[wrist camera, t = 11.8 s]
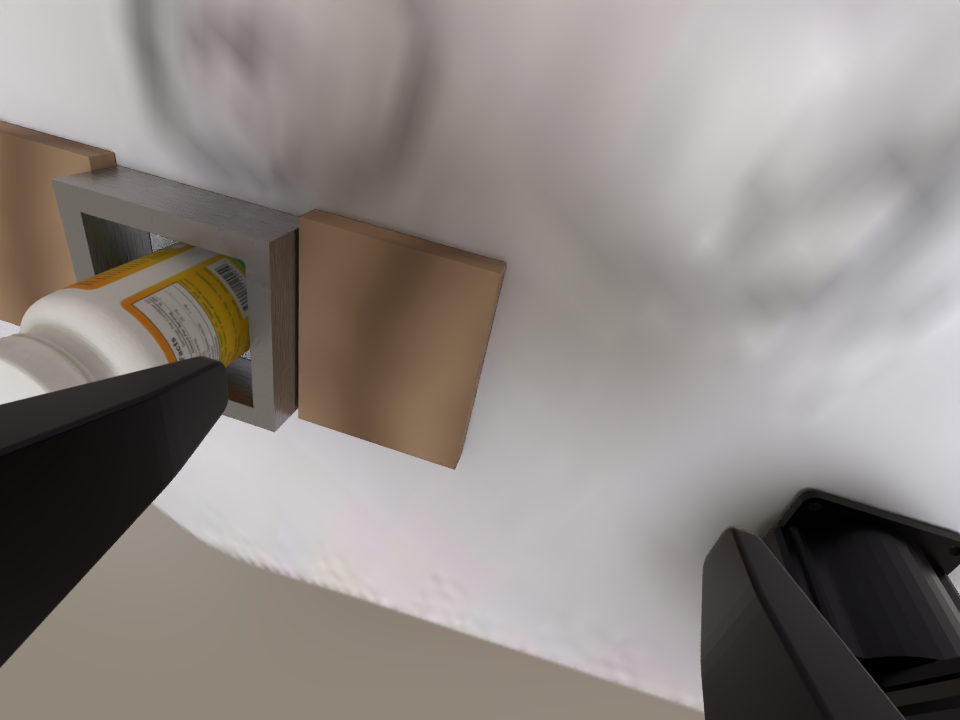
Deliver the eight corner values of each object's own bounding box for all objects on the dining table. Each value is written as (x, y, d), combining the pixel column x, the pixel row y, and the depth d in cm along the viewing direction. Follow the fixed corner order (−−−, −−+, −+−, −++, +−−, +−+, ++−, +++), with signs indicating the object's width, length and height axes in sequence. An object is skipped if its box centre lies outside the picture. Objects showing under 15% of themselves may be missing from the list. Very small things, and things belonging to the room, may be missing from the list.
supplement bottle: (170, 313, 25) (-49, 433, 17) (175, 213, 22) (-89, 300, 14) (269, 361, 25) (97, 504, 17) (286, 266, 22) (87, 385, 14)
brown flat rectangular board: (506, 263, 20) (500, 274, 19) (461, 453, 25) (454, 469, 24) (-47, 107, 22) (-79, 109, 21) (19, 309, 28) (-4, 318, 27)
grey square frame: (312, 220, 21) (268, 242, 18) (309, 395, 25) (274, 432, 23) (118, 165, 22) (51, 178, 19) (150, 344, 26) (100, 373, 24)
